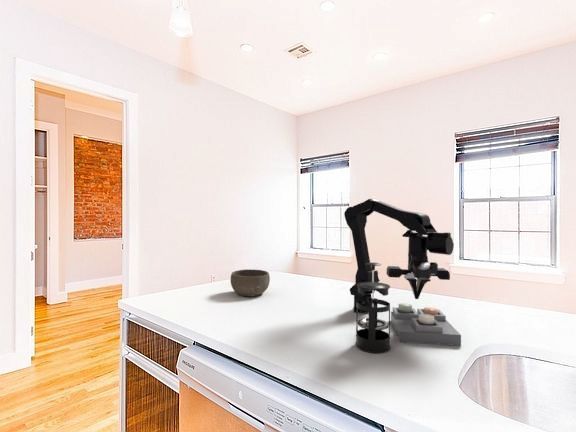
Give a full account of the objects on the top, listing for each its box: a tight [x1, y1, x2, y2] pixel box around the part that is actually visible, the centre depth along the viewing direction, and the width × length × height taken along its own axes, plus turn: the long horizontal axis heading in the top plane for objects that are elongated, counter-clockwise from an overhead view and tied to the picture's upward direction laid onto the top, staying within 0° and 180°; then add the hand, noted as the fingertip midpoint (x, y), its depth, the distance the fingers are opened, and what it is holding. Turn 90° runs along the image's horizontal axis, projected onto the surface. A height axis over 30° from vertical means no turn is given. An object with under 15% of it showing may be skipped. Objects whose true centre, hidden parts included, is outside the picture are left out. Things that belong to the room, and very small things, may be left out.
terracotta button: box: [423, 306, 439, 315], centre depth 106 cm, size 4×4×2 cm
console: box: [390, 307, 462, 347], centre depth 101 cm, size 16×19×4 cm
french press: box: [355, 261, 392, 354], centre depth 90 cm, size 12×9×23 cm
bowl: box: [230, 268, 271, 297], centre depth 148 cm, size 17×18×10 cm
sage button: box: [397, 302, 413, 312], centre depth 107 cm, size 4×4×2 cm
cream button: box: [419, 314, 434, 324], centre depth 96 cm, size 4×4×2 cm
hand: (416, 298), depth 107 cm, fingers closed
